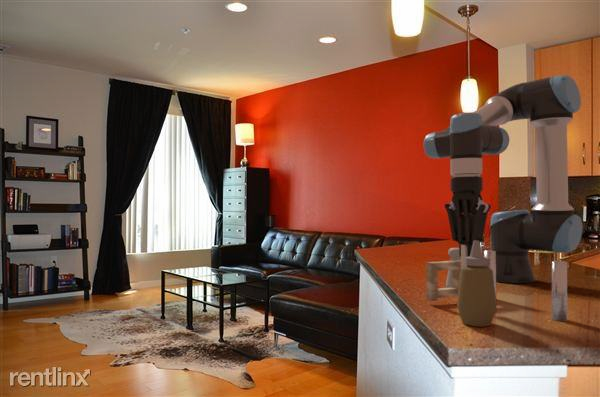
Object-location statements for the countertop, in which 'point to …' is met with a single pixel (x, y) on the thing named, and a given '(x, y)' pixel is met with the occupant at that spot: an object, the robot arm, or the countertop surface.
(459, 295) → the squeeze bottle
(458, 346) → the countertop surface
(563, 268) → the gateposts
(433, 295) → the gate
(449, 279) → the salt shaker
